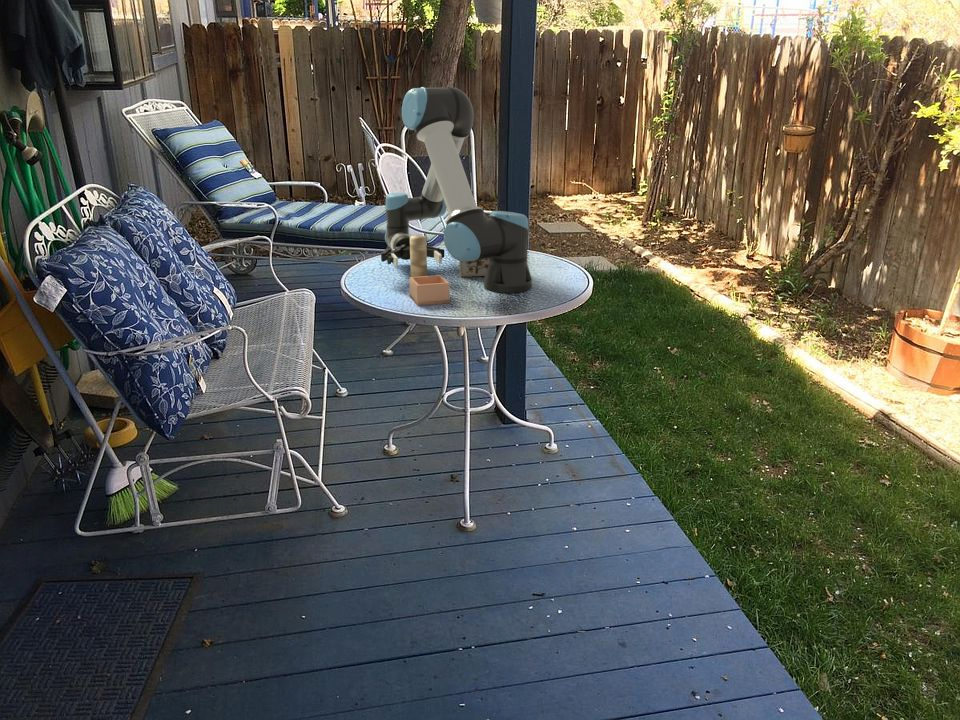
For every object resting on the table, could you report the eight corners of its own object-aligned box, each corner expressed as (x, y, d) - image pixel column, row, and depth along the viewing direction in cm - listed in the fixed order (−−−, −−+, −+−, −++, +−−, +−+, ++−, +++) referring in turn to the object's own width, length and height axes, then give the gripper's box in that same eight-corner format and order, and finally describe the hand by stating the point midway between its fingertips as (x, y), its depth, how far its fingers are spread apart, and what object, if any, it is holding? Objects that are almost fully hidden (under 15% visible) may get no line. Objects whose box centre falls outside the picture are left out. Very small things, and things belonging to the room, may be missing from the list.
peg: (425, 285, 234) (424, 235, 229) (429, 289, 230) (428, 238, 224) (409, 286, 233) (408, 236, 227) (413, 291, 229) (411, 239, 223)
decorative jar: (495, 268, 255) (495, 215, 248) (495, 277, 244) (495, 222, 238) (460, 268, 255) (460, 215, 249) (458, 277, 244) (458, 222, 238)
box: (441, 294, 226) (440, 274, 223) (449, 303, 217) (449, 283, 215) (409, 296, 223) (409, 277, 221) (417, 305, 214) (416, 285, 212)
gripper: (440, 255, 251) (458, 270, 232) (366, 260, 244) (378, 276, 225) (440, 232, 248) (458, 246, 229) (365, 237, 241) (377, 251, 222)
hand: (418, 261), depth 227 cm, fingers open, 13 cm apart
